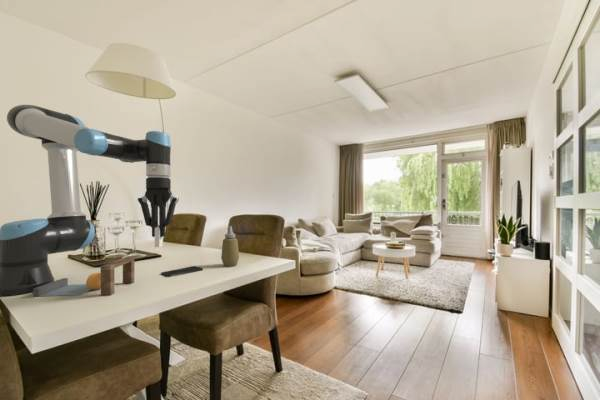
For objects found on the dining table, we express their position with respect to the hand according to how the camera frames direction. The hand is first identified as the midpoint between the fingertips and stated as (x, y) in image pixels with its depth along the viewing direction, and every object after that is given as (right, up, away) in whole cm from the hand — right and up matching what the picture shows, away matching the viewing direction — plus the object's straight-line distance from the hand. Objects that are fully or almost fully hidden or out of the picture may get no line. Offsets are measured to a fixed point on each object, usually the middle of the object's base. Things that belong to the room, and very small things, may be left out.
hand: (158, 246), depth 95 cm
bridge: (-13, -14, -1) cm, 19 cm away
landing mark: (-27, -14, -3) cm, 30 cm away
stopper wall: (-34, -14, -3) cm, 37 cm away
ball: (-20, -11, -2) cm, 23 cm away
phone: (-1, -15, +21) cm, 26 cm away
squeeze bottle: (+16, -14, +32) cm, 39 cm away
